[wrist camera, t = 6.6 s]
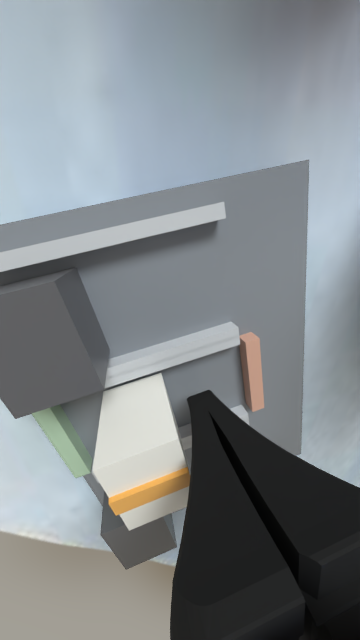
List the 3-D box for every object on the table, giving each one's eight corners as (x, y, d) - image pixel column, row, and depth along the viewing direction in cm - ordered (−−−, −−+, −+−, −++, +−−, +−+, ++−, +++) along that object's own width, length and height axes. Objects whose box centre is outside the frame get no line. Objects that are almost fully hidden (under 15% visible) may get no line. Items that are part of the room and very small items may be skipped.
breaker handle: (161, 372, 11) (179, 443, 7) (177, 426, 13) (199, 507, 9) (103, 391, 11) (91, 476, 7) (127, 444, 12) (129, 536, 9)
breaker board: (289, 167, 10) (384, 128, 7) (290, 440, 18) (333, 493, 15) (-47, 239, 8) (-187, 242, 5) (118, 510, 16) (116, 592, 13)
